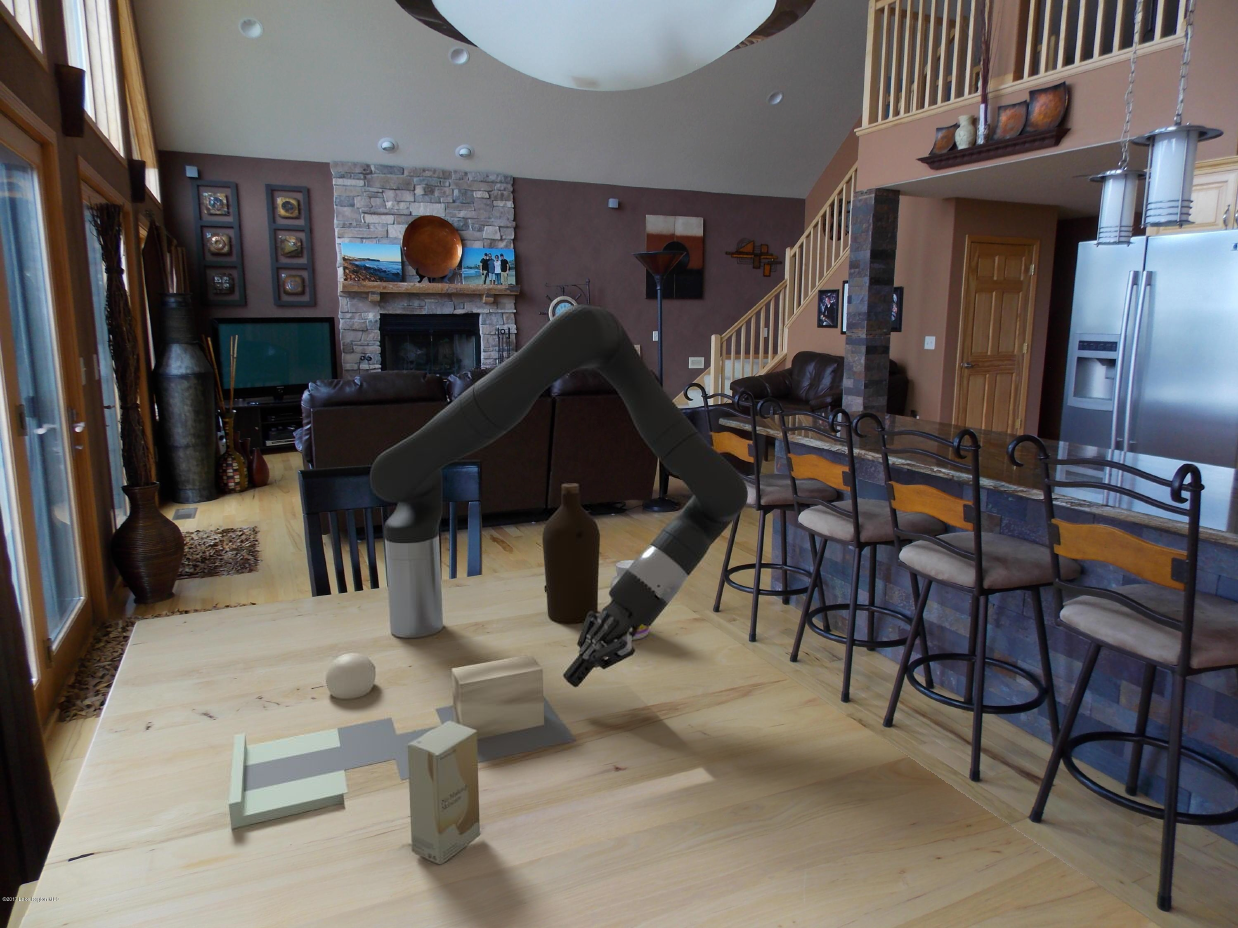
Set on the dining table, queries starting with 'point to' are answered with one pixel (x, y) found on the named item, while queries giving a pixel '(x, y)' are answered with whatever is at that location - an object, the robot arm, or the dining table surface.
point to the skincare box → (443, 791)
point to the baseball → (350, 676)
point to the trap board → (346, 762)
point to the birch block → (499, 695)
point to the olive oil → (571, 560)
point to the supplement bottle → (620, 570)
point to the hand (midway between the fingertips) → (569, 682)
